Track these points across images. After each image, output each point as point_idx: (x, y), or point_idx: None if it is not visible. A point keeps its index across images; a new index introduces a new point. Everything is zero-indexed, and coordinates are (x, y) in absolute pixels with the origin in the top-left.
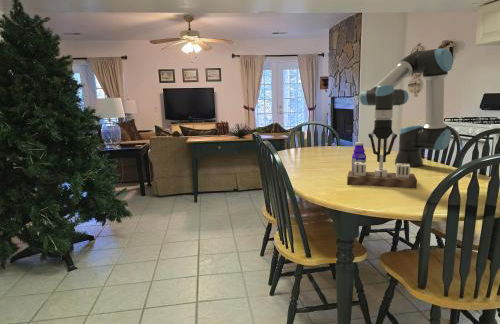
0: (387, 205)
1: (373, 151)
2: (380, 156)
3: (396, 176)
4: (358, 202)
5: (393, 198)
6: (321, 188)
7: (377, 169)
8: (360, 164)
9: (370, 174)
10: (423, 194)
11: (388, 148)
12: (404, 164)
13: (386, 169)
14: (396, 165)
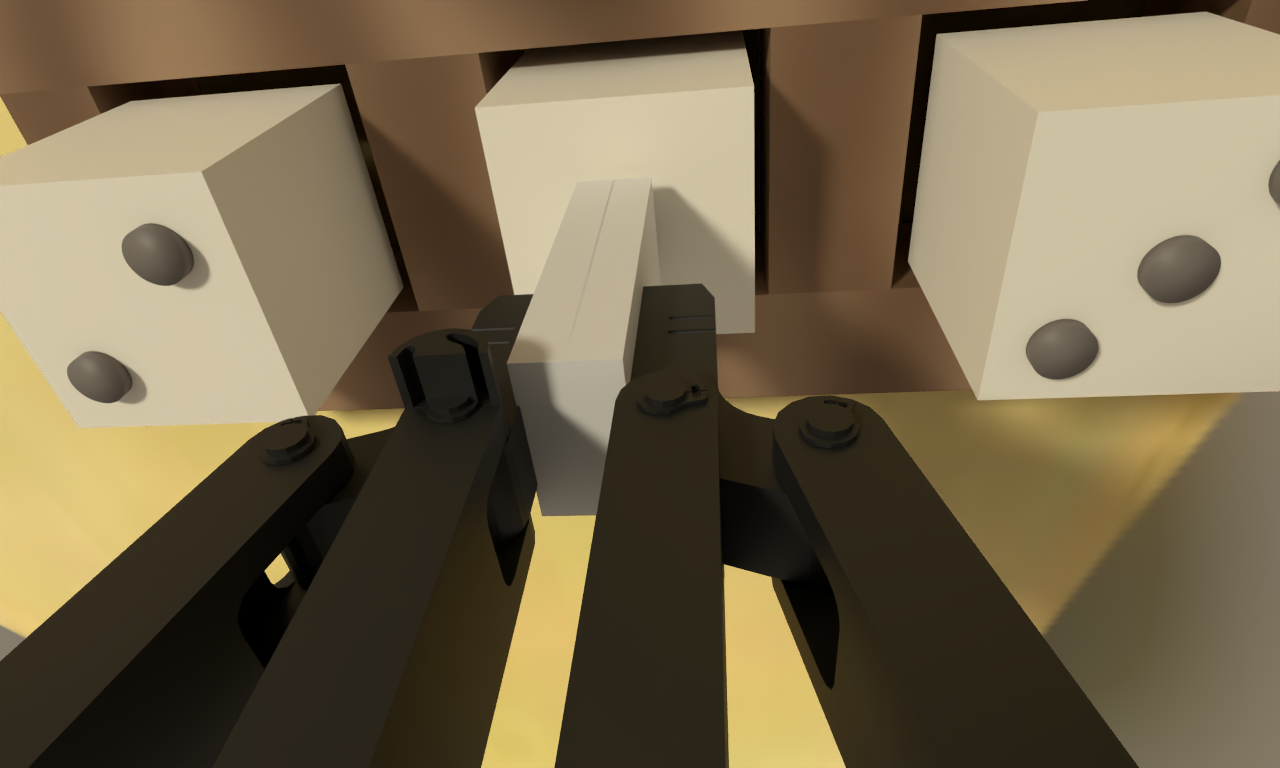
0: (732, 755)
1: (290, 620)
2: (561, 501)
3: (917, 259)
4: (536, 742)
5: (787, 643)
6: (97, 528)
7: (551, 221)
8: (200, 420)
9: (445, 174)
10: (1122, 499)
11: (839, 576)
12: (1235, 215)
13: (743, 169)
14: (1005, 185)
